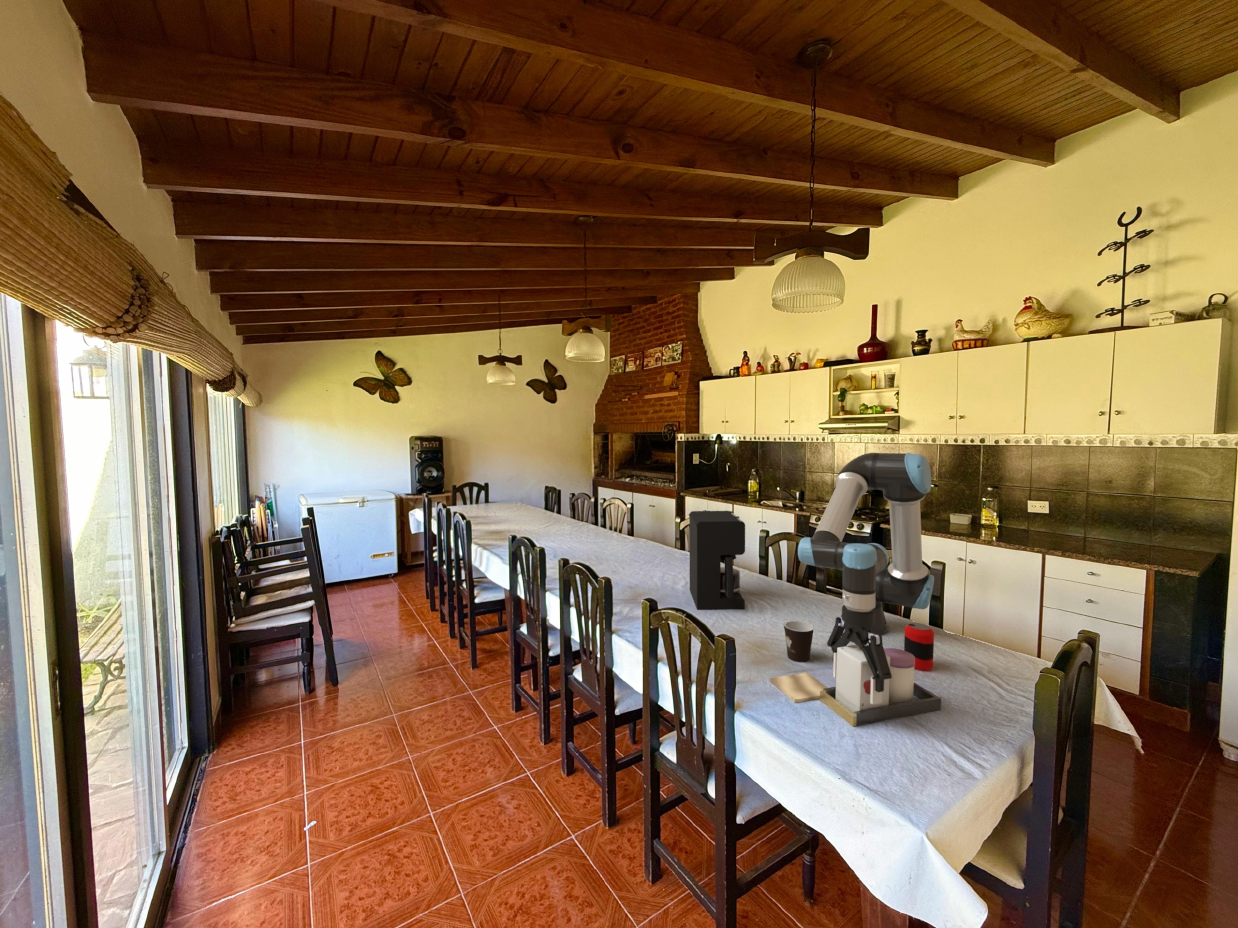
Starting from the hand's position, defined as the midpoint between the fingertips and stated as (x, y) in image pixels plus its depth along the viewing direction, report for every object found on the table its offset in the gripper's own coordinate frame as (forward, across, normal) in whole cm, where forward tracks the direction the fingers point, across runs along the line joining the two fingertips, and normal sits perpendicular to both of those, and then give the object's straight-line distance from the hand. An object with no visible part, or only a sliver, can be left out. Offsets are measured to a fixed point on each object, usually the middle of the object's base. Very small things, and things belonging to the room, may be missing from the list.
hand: (856, 689), depth 133 cm
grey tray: (+5, 0, +7) cm, 9 cm away
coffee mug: (+5, -31, +4) cm, 32 cm away
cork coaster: (+5, -13, -7) cm, 16 cm away
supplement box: (+6, 0, +1) cm, 6 cm away
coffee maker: (+6, -84, +2) cm, 84 cm away
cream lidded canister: (+5, 0, +12) cm, 13 cm away
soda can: (+6, -15, +34) cm, 38 cm away
